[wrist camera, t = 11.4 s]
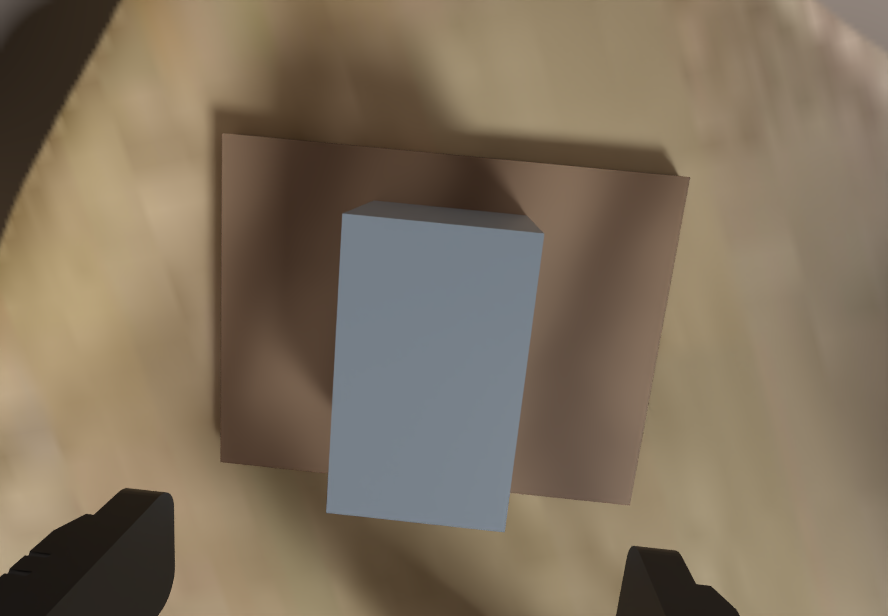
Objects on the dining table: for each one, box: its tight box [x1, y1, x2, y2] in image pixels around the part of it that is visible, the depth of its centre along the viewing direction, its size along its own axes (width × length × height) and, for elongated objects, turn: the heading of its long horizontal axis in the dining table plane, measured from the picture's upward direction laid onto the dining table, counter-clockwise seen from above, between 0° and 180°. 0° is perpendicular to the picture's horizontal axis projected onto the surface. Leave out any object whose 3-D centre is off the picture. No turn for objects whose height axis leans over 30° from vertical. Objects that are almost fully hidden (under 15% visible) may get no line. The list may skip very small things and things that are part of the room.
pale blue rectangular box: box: [326, 201, 544, 532], centre depth 22 cm, size 6×10×6 cm, turn 175°
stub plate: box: [221, 133, 690, 505], centre depth 24 cm, size 18×14×4 cm
